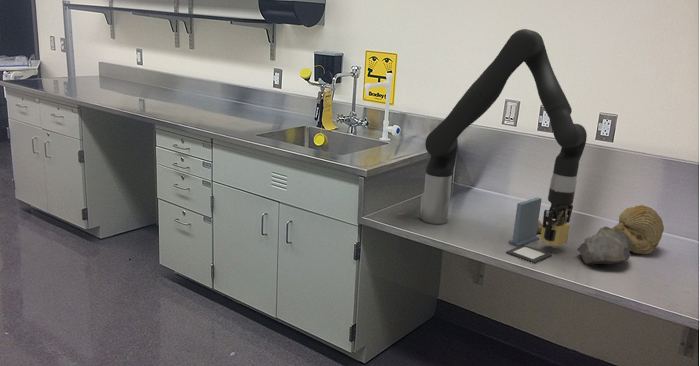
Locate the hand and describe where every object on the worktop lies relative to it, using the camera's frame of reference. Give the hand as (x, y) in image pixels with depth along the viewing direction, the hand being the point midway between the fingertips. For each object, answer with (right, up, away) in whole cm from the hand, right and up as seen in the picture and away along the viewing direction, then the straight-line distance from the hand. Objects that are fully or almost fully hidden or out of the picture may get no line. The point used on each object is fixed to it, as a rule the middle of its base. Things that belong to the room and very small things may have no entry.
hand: (553, 237), depth 186 cm
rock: (-1, +1, +20) cm, 20 cm away
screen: (-7, -2, +7) cm, 11 cm away
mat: (-9, -5, -4) cm, 11 cm away
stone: (+13, -7, -6) cm, 16 cm away
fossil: (+28, -4, +6) cm, 29 cm away
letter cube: (0, -1, 0) cm, 1 cm away
